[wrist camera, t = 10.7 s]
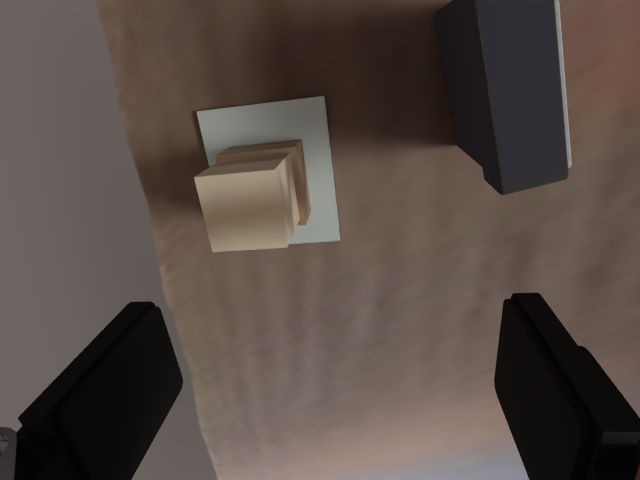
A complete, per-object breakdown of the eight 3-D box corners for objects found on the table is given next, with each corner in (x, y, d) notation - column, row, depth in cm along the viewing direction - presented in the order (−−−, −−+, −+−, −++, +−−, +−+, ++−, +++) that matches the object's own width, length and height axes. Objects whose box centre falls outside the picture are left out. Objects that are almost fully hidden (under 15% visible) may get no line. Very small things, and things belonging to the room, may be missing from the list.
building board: (198, 110, 37) (196, 111, 36) (324, 95, 35) (324, 96, 34) (229, 245, 42) (228, 247, 41) (340, 238, 40) (339, 240, 40)
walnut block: (229, 146, 37) (215, 155, 33) (301, 139, 36) (294, 147, 32) (244, 215, 40) (231, 230, 36) (311, 210, 39) (305, 225, 35)
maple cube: (222, 159, 33) (193, 177, 28) (289, 152, 33) (274, 169, 27) (235, 224, 36) (212, 252, 30) (299, 219, 35) (287, 247, 29)
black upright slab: (499, 134, 35) (585, 177, 21) (449, 148, 36) (502, 198, 22) (479, -2, 31) (570, -58, 17) (424, 18, 32) (469, -21, 18)
